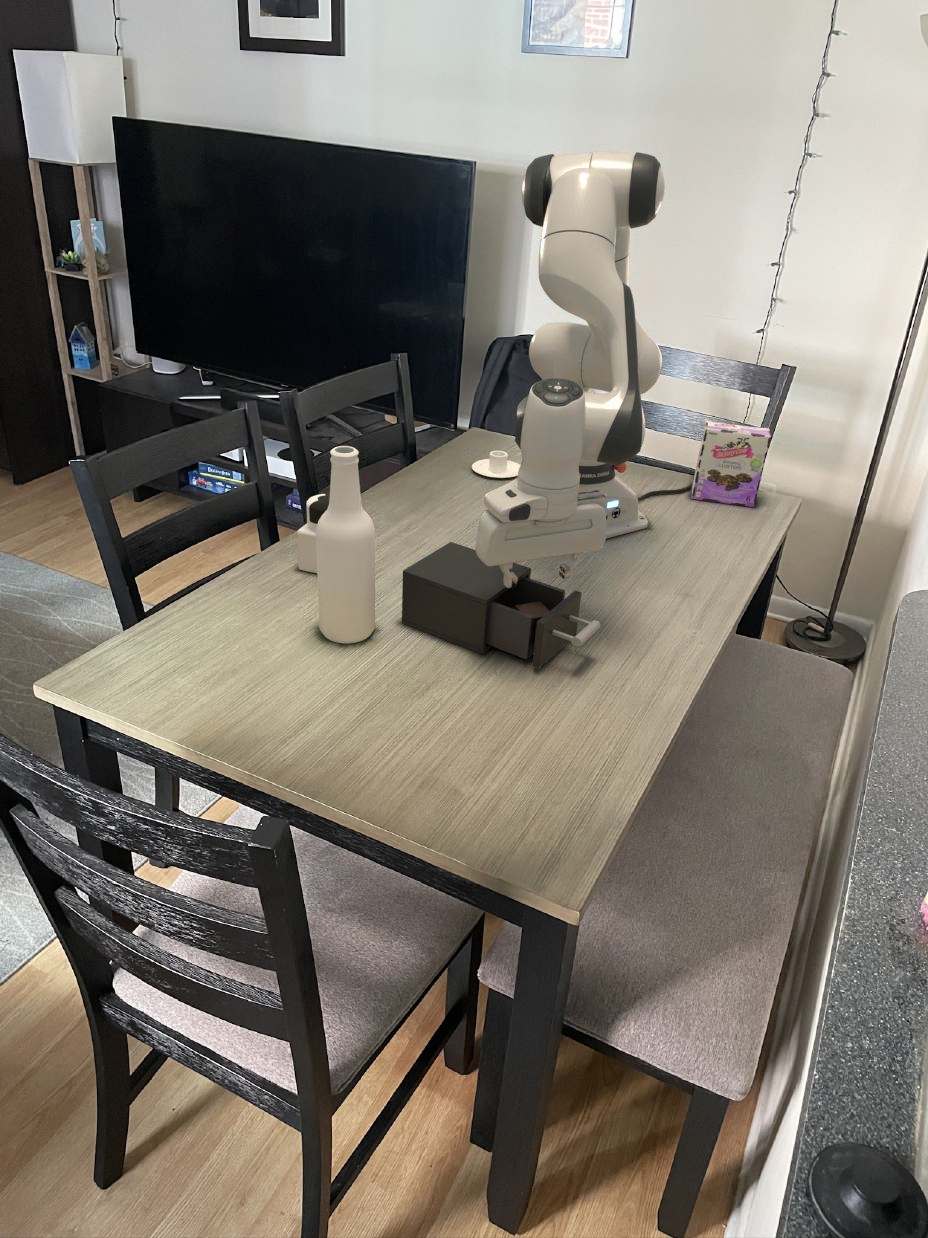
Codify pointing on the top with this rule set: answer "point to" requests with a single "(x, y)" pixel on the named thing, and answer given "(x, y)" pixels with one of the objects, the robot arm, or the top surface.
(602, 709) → the top surface
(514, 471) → the candle holder
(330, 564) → the alcohol
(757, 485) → the candy box
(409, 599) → the small drawer cabinet
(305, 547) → the container
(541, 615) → the block
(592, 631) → the pull-out drawer
